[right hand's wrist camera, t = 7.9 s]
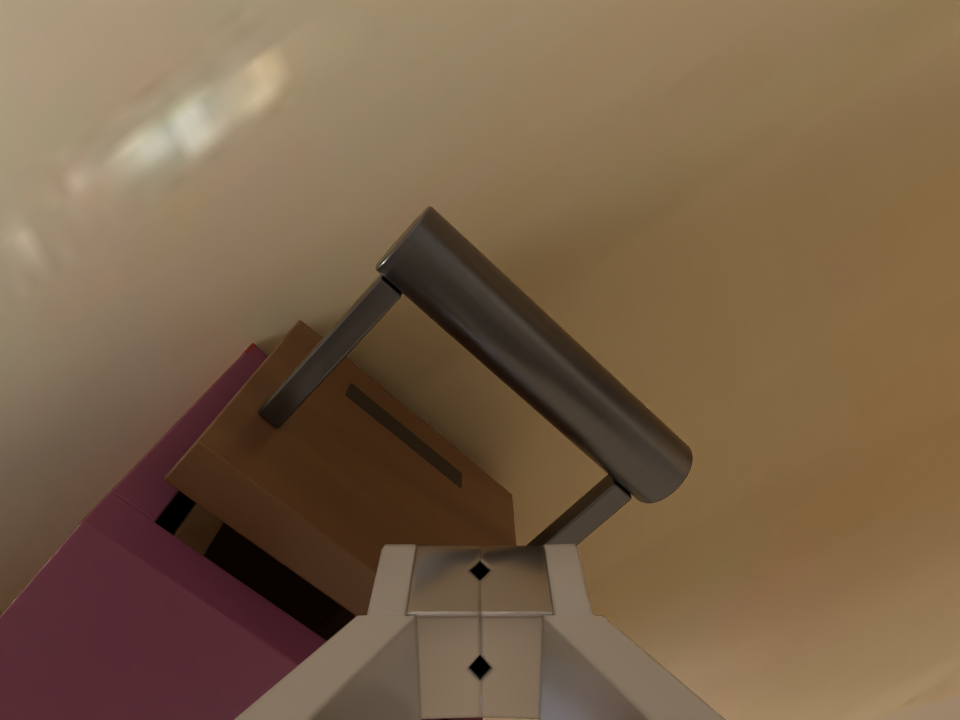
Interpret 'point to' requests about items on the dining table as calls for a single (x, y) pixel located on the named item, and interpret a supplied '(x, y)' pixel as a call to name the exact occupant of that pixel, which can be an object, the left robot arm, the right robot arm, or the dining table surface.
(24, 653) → the cabinet
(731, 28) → the dining table surface
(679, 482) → the drawer
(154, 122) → the dining table surface
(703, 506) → the dining table surface
